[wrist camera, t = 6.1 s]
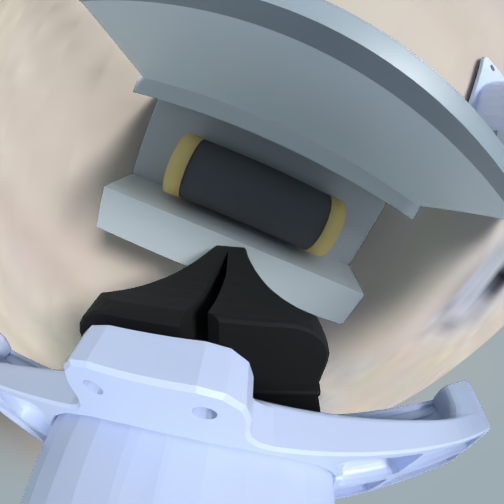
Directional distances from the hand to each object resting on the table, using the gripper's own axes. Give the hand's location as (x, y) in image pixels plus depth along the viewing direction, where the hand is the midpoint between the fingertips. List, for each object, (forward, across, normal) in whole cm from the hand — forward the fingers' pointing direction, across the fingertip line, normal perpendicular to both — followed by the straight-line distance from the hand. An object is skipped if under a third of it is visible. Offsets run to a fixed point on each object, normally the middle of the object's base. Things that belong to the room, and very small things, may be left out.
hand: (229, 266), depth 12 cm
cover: (-3, -2, -7) cm, 8 cm away
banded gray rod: (+2, -1, -3) cm, 4 cm away
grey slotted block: (+4, -1, -3) cm, 5 cm away
